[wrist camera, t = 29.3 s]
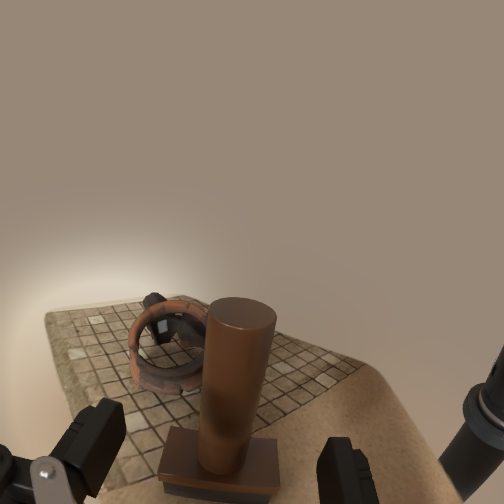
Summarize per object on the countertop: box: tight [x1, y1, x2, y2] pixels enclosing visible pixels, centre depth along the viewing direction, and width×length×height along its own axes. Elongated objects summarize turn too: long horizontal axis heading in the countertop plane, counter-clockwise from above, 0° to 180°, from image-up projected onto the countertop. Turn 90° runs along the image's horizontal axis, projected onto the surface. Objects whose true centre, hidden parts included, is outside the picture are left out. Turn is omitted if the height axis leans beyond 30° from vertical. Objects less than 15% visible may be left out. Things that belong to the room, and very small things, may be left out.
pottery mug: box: [128, 293, 208, 395], centre depth 26 cm, size 12×10×8 cm
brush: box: [157, 297, 280, 504], centre depth 14 cm, size 7×4×13 cm, turn 90°
